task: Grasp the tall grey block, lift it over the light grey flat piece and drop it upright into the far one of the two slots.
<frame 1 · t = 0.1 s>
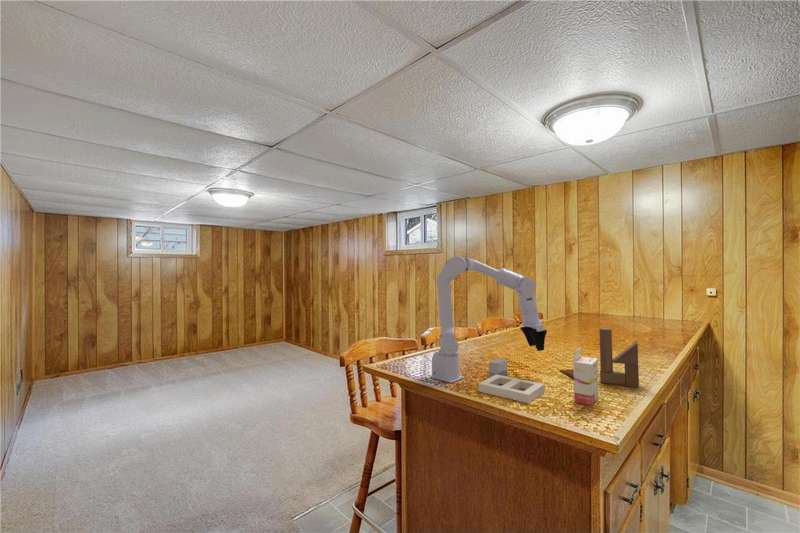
hand: (536, 347, 125), 10 cm above the table, tool pointing down, fingers open, 7 cm apart
light grey flat piece: (511, 391, 111), on the table
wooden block: (619, 384, 116), on the table
tall grey block: (498, 377, 126), on the table
ink cartridge box: (586, 400, 103), on the table
primitive tool: (574, 379, 123), on the table
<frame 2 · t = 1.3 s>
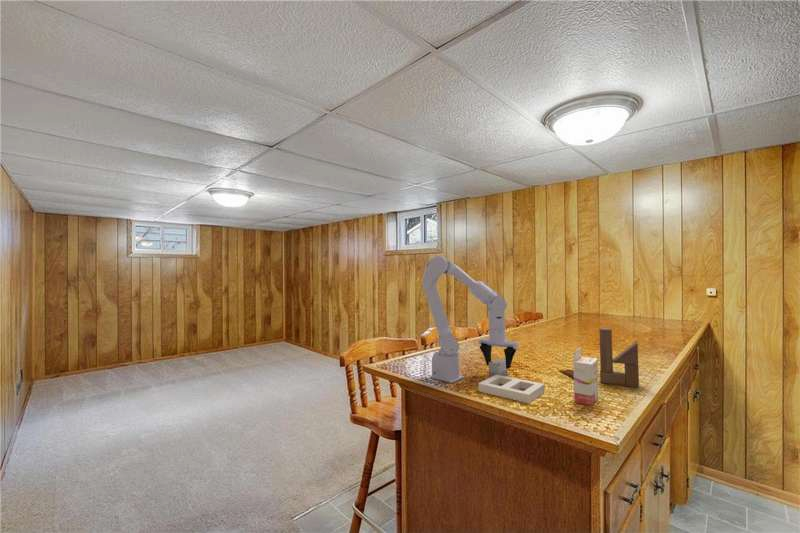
hand: (498, 366, 126), 4 cm above the table, tool pointing down, fingers open, 7 cm apart
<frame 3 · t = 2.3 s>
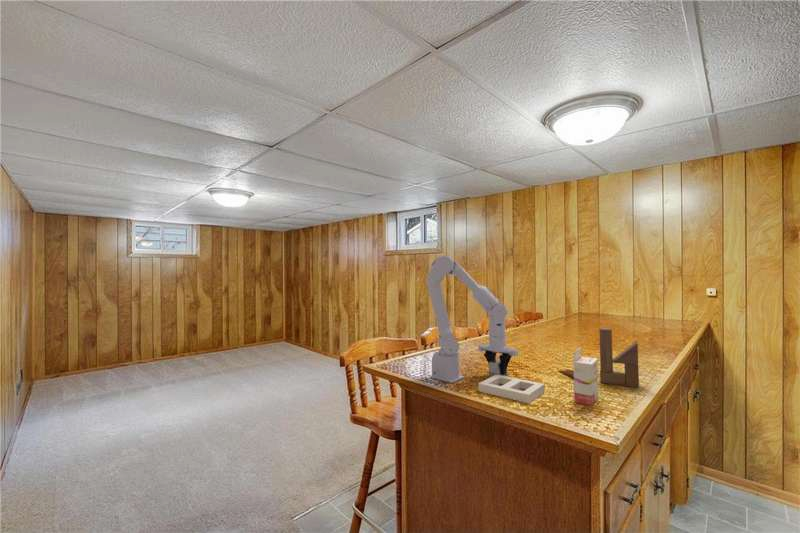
hand: (498, 373, 126), 1 cm above the table, tool pointing down, fingers closed on tall grey block, 3 cm apart
tall grey block: (498, 377, 126), on the table, touching gripper
everything else where it was.
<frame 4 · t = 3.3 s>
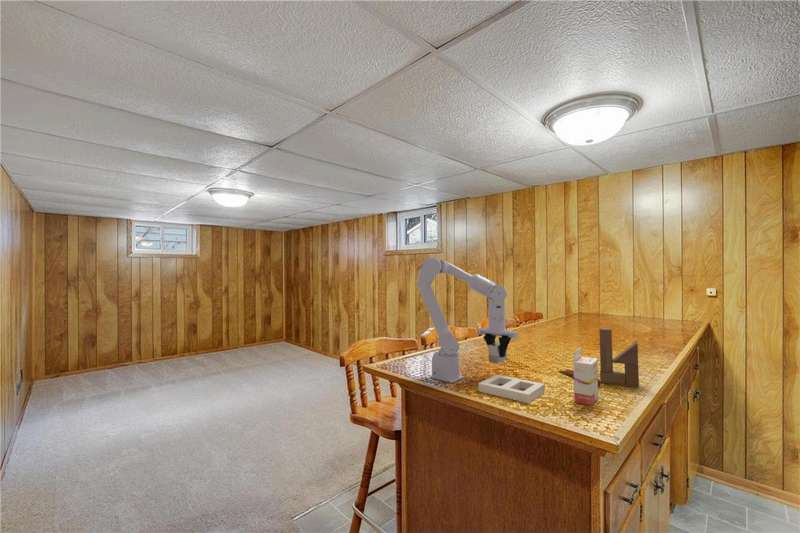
hand: (497, 355, 126), 8 cm above the table, tool pointing down, fingers closed on tall grey block, 3 cm apart
tall grey block: (497, 360, 126), point 6 cm above the table, touching gripper
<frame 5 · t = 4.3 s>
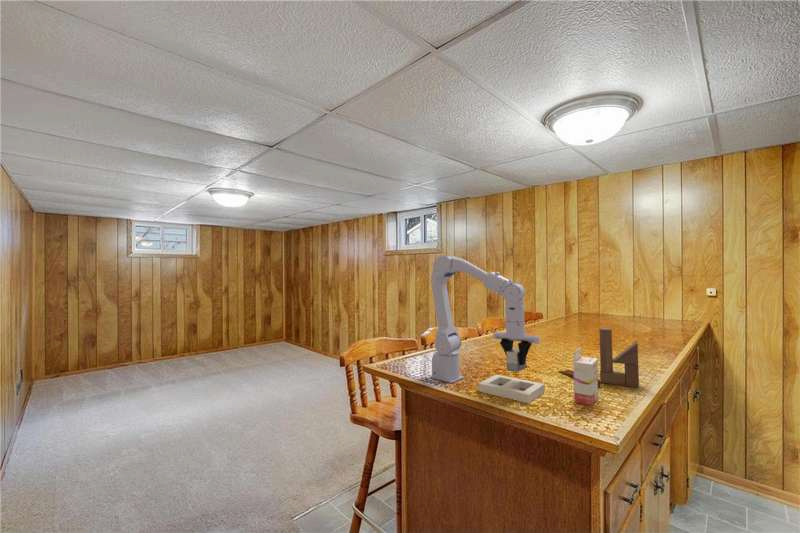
hand: (516, 363, 112), 8 cm above the table, tool pointing down, fingers closed on tall grey block, 3 cm apart
tall grey block: (516, 368, 112), point 7 cm above the table, touching gripper
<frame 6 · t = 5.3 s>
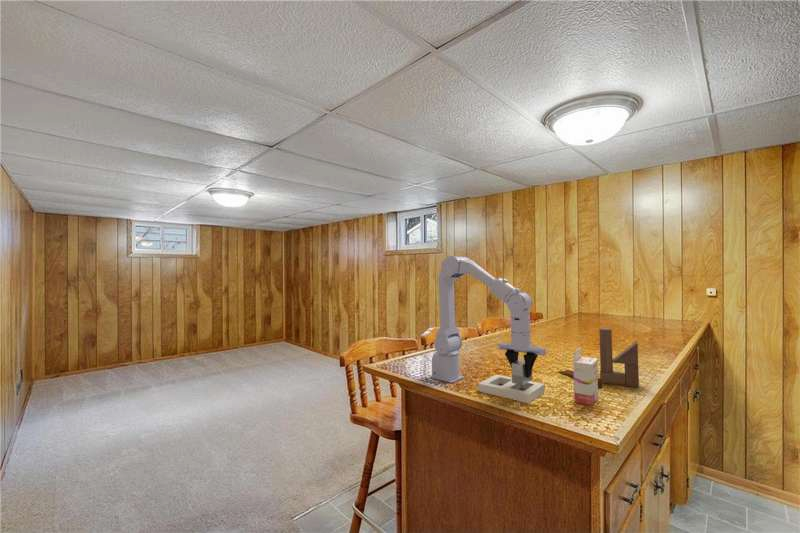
hand: (521, 375, 109), 6 cm above the table, tool pointing down, fingers closed on tall grey block, 3 cm apart
tall grey block: (522, 381, 109), point 4 cm above the table, touching gripper
when the fingers open (3 cm above the table, at t = 6.2 s): tall grey block drops 1 cm, resting on light grey flat piece.
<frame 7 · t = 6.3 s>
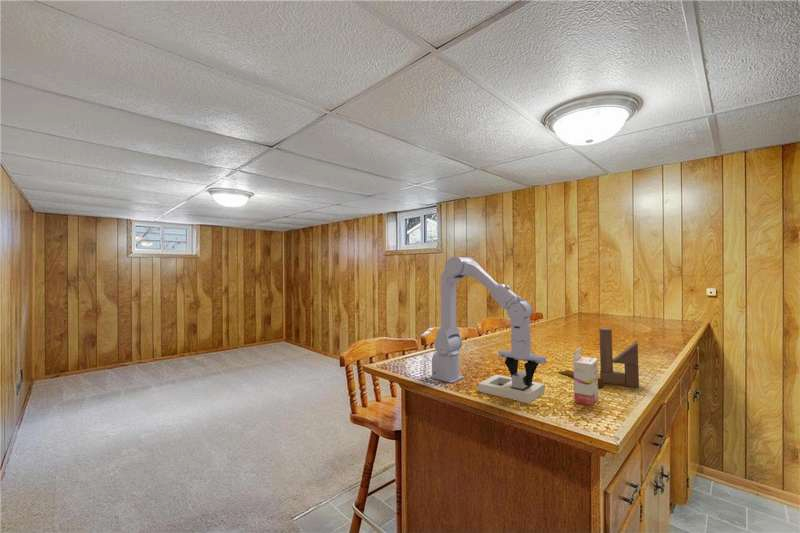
hand: (522, 383, 109), 3 cm above the table, tool pointing down, fingers open, 4 cm apart
tall grey block: (522, 392, 109), resting on light grey flat piece
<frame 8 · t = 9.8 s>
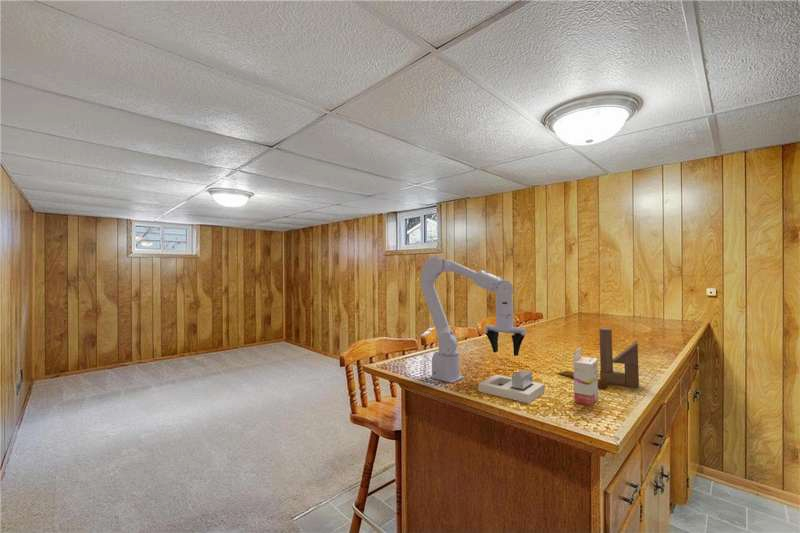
hand: (505, 353, 122), 9 cm above the table, tool pointing down, fingers open, 7 cm apart
at the end: tall grey block 0.2 cm from the target spot on the light grey flat piece, point 0.3 cm above the light grey flat piece's base; tall grey block tilted 0°; the gripper is holding nothing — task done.
